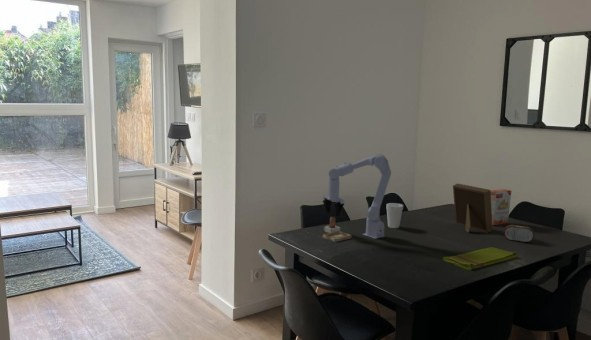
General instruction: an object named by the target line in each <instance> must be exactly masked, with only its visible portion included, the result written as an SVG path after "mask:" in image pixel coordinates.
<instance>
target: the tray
mask: <svg viewBox="0 0 591 340" xmlns="http://www.w3.org/2000/svg"><path fill="white" fill-rule="evenodd" d="M352 238H353V235H352V234H349V233H346V232H344V231H336V232H332V233H328V232H326V233H322V239H325V240H329V241H331V242H333V243H337V242H343V241H345V240H350V239H352Z"/></svg>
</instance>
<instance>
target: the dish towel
mask: <svg viewBox="0 0 591 340" xmlns="http://www.w3.org/2000/svg"><path fill="white" fill-rule="evenodd" d="M516 258H518V256H517V252H516V251H514V252H510V251H507V250H503V249H501V248H496V247H491V246H490V247H486V248H481V249H477V250H473V251H470V252H465V253H462V254H456V255H451V256H443V257H442V261H444V262H447V263H450V264H452V265H454V266H456V267H459V268H461V269H465V270H468V271H472V270H477V269H480V268H483V267H486V266H492V265H496V264H498V263H503V262H507V261H510V260H513V259H516ZM509 259H510V260H509ZM506 260H507V261H506Z"/></svg>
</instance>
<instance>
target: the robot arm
mask: <svg viewBox="0 0 591 340" xmlns="http://www.w3.org/2000/svg"><path fill="white" fill-rule="evenodd" d="M366 166H370V167H373V166H375V167H376V169H378V170H379V172H380V174H381V176H380V179H379V182H378V185H377V188H376V191H375V194H374V198H373V201H372V204H371V206H369V208H368V210H367V217H366V221H365V222H366V225H365V233H362V235H363V236H366V237H370V238H371V239H374V240H375V239H379V238H385V237H386V235H385V223H384V222H383V221H381V218H380V213H381V212H380V211H381V210H380V209H381V206H382V203H383V200H384V197H385V194H386V191H387V187H388V184H389V183H390V182H389V181H390V178H391V175H392V171H391V167H390V165H389V161H388V159H387V157H386V156H385V155H384V154H381V153H380V154H377V155H372V156H369V157H366V158H363V159H361V160H359V161H355V162H353V163H351V162H347V161H346V162H344V163H343V164H341V165H337V166H335V167H332V168H331V169H330V170H329V172H328V176H329V179H328V192H327V193H328V195H323V196H322V197H323V200H322V203H323V205H324V209H325V212H326V214H329V213H331V208H332V207H331V206H332V204H334V207H335V217H337V216H338V217H340V215H341V211H342V209H343V207H344V206H345V199H342V198H340V177H344V176H347V175H349V174H352V173H354V170H357V169H359V168H362V167H366ZM332 202H334V203H332Z"/></svg>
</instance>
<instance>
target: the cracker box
mask: <svg viewBox="0 0 591 340" xmlns="http://www.w3.org/2000/svg"><path fill="white" fill-rule="evenodd" d="M489 190H490V191H491V211H492V225H493V226H494V225H495V226H500V225H506V223H507V224H509V217H510V215H509V214H510V207H511V200H512V199H511V197H512V190H510V189H506V188H500V189H499V188H498V189H489ZM493 226H492V227H493Z"/></svg>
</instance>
